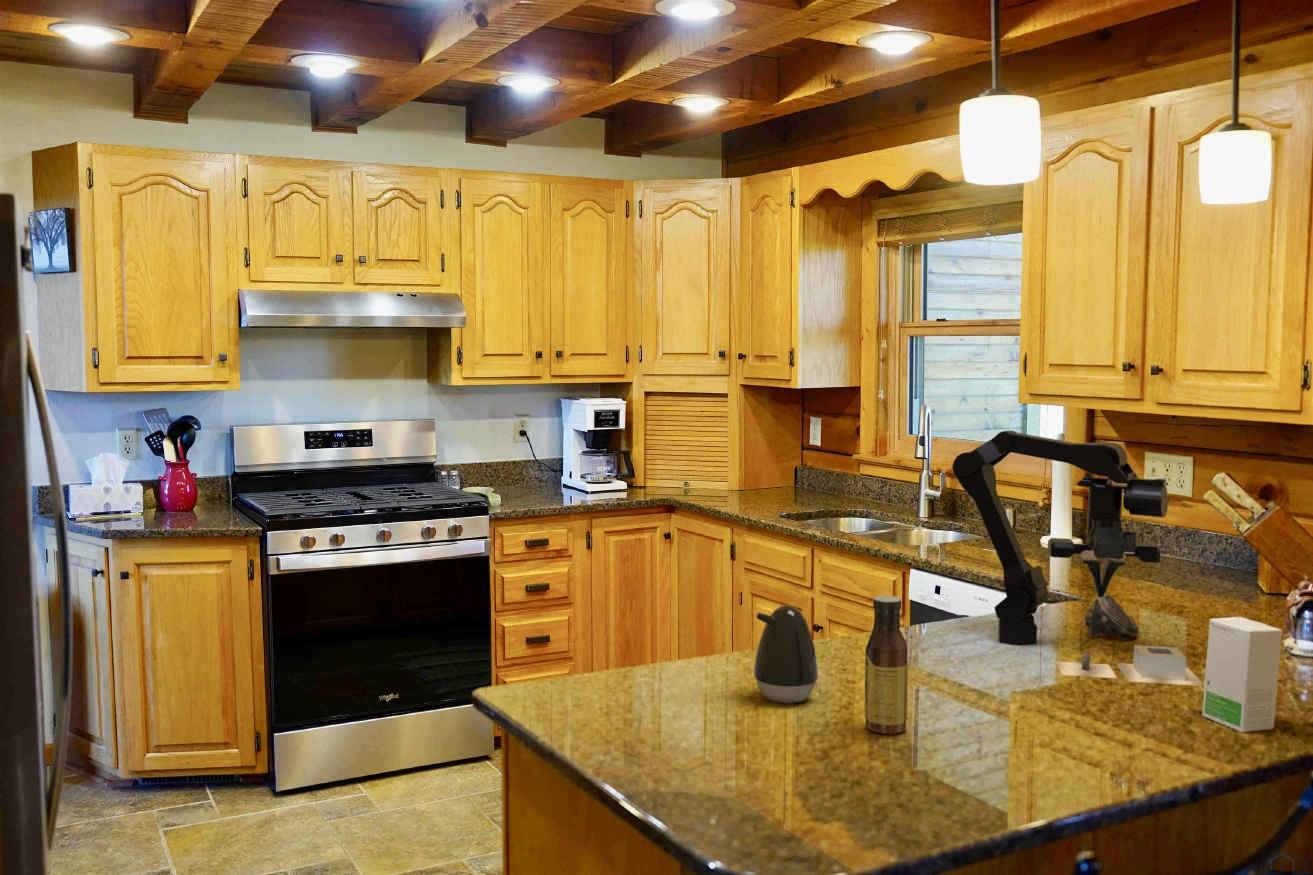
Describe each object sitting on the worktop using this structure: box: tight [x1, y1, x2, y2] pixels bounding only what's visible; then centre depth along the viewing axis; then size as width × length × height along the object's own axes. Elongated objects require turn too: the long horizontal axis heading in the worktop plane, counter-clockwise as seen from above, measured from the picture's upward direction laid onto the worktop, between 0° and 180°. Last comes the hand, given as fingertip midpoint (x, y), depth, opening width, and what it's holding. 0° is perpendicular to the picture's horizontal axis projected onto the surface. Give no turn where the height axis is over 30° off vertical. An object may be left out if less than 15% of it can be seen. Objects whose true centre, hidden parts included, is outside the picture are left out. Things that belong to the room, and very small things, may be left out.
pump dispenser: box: [753, 605, 819, 704], centre depth 187 cm, size 10×10×15 cm
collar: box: [1132, 644, 1188, 681], centre depth 200 cm, size 7×7×4 cm
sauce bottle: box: [864, 595, 909, 736], centre depth 172 cm, size 6×6×20 cm
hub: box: [1115, 662, 1205, 687], centre depth 200 cm, size 12×12×4 cm
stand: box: [1054, 652, 1118, 679], centre depth 203 cm, size 9×9×4 cm
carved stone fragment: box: [1084, 593, 1140, 641], centre depth 233 cm, size 11×9×10 cm
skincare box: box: [1201, 616, 1283, 733], centre depth 177 cm, size 8×7×16 cm
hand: (1100, 596), depth 213 cm, fingers closed
